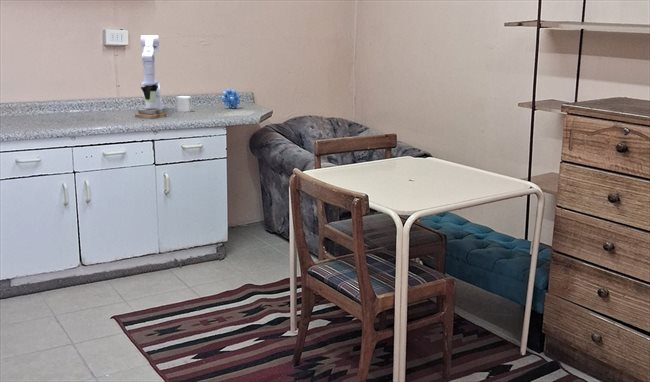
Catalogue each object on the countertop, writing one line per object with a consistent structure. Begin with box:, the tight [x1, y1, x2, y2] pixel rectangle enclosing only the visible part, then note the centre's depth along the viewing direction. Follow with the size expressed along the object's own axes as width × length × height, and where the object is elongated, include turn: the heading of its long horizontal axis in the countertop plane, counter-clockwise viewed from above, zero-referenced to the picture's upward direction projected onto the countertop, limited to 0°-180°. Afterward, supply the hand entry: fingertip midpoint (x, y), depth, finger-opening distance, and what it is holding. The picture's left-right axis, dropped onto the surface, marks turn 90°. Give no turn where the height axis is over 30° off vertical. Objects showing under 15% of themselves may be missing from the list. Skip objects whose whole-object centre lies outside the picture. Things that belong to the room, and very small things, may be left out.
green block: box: [143, 91, 156, 104], centre depth 398 cm, size 4×4×6 cm
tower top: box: [137, 107, 166, 115], centre depth 401 cm, size 10×10×2 cm
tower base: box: [134, 112, 167, 120], centre depth 401 cm, size 12×12×2 cm
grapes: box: [221, 88, 241, 109], centre depth 438 cm, size 12×7×12 cm, turn 114°
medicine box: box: [175, 95, 193, 113], centre depth 424 cm, size 8×4×9 cm, turn 84°
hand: (150, 99), depth 399 cm, fingers closed on green block, 4 cm apart
